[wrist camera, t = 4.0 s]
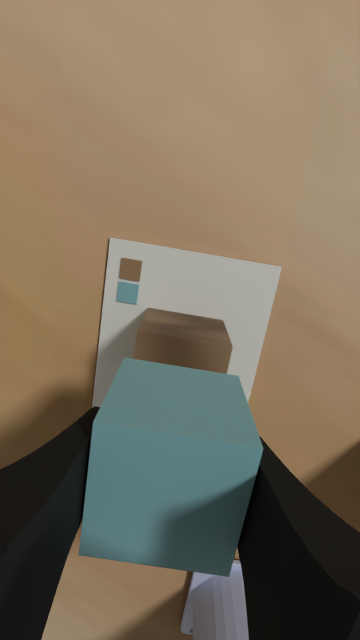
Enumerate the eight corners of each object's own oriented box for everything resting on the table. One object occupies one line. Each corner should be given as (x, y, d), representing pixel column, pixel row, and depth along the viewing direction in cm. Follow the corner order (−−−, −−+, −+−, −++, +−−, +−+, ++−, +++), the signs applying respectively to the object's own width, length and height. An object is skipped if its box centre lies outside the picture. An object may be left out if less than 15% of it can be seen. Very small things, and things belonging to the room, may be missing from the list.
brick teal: (238, 375, 14) (263, 448, 9) (216, 471, 15) (228, 577, 10) (124, 357, 13) (93, 421, 9) (111, 455, 15) (78, 555, 10)
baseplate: (281, 266, 20) (282, 267, 19) (237, 441, 23) (238, 444, 23) (110, 237, 20) (109, 237, 19) (91, 418, 23) (90, 420, 23)
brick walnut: (222, 320, 21) (232, 346, 16) (208, 387, 22) (214, 429, 17) (147, 307, 20) (136, 331, 16) (138, 376, 22) (125, 415, 17)
